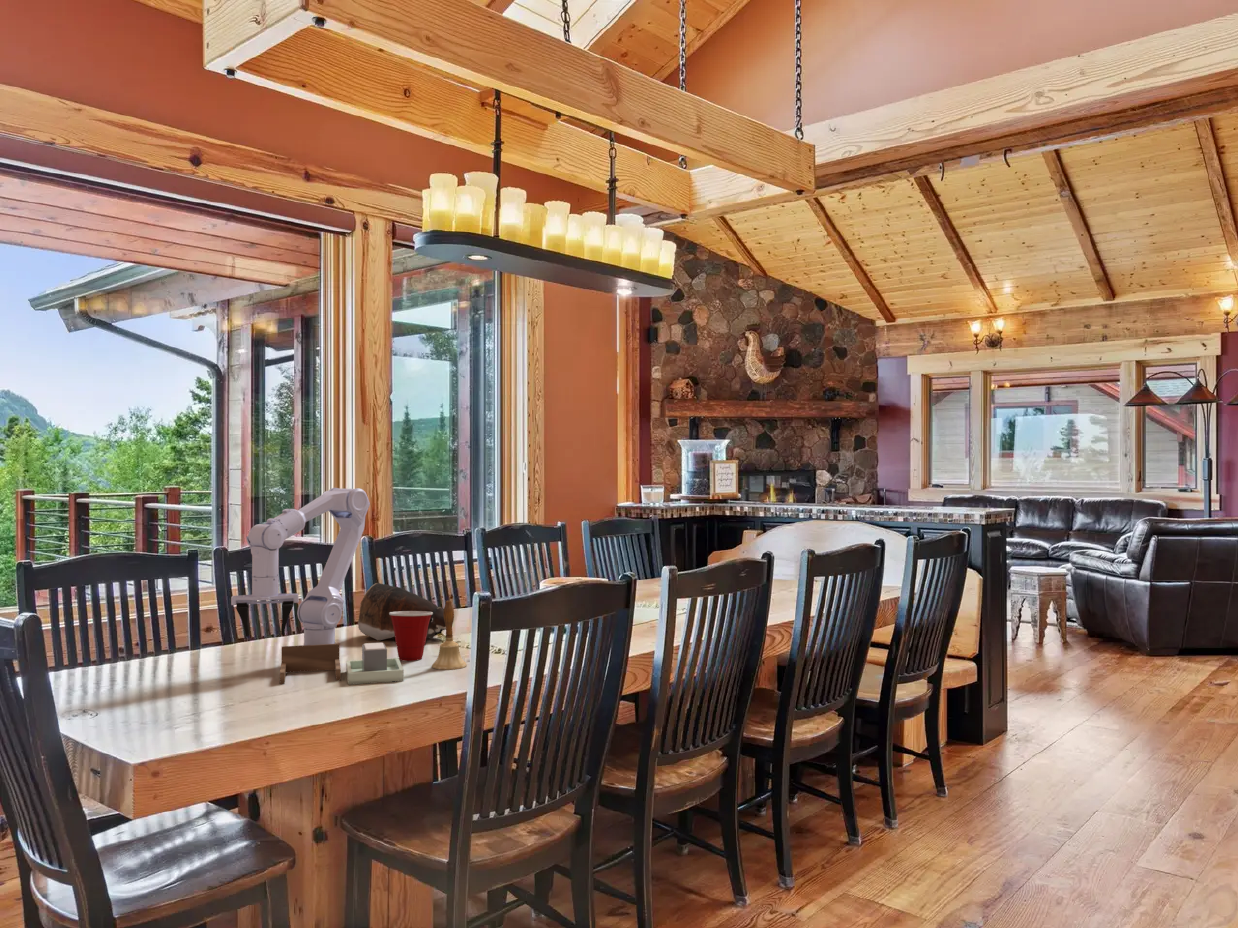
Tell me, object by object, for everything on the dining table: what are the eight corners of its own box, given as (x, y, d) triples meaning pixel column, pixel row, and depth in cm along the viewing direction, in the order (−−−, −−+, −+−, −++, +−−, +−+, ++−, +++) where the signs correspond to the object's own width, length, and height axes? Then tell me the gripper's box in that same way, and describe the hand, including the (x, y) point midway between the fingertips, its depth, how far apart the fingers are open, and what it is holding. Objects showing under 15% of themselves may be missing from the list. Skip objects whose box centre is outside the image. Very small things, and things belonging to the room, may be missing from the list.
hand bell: (459, 670, 225) (459, 603, 225) (426, 669, 227) (426, 602, 227) (471, 663, 234) (471, 598, 234) (439, 662, 235) (440, 597, 235)
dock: (281, 671, 223) (281, 646, 223) (339, 668, 227) (339, 643, 227) (279, 684, 211) (279, 657, 211) (340, 680, 215) (340, 653, 215)
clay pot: (445, 601, 257) (364, 581, 263) (432, 657, 256) (351, 635, 262) (467, 601, 271) (389, 581, 277) (454, 654, 270) (376, 633, 276)
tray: (346, 671, 224) (346, 660, 224) (398, 668, 228) (398, 657, 228) (348, 684, 211) (348, 673, 211) (403, 680, 214) (403, 669, 214)
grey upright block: (362, 669, 222) (362, 643, 222) (384, 668, 224) (384, 642, 224) (364, 677, 214) (364, 649, 214) (386, 675, 216) (386, 648, 216)
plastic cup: (438, 654, 244) (438, 608, 244) (425, 663, 233) (425, 614, 233) (397, 653, 245) (397, 607, 245) (382, 662, 234) (382, 613, 235)
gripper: (230, 579, 213) (229, 639, 213) (298, 576, 218) (298, 636, 218) (232, 575, 220) (232, 634, 220) (298, 573, 225) (298, 631, 225)
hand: (265, 634), depth 219 cm, fingers open, 7 cm apart
